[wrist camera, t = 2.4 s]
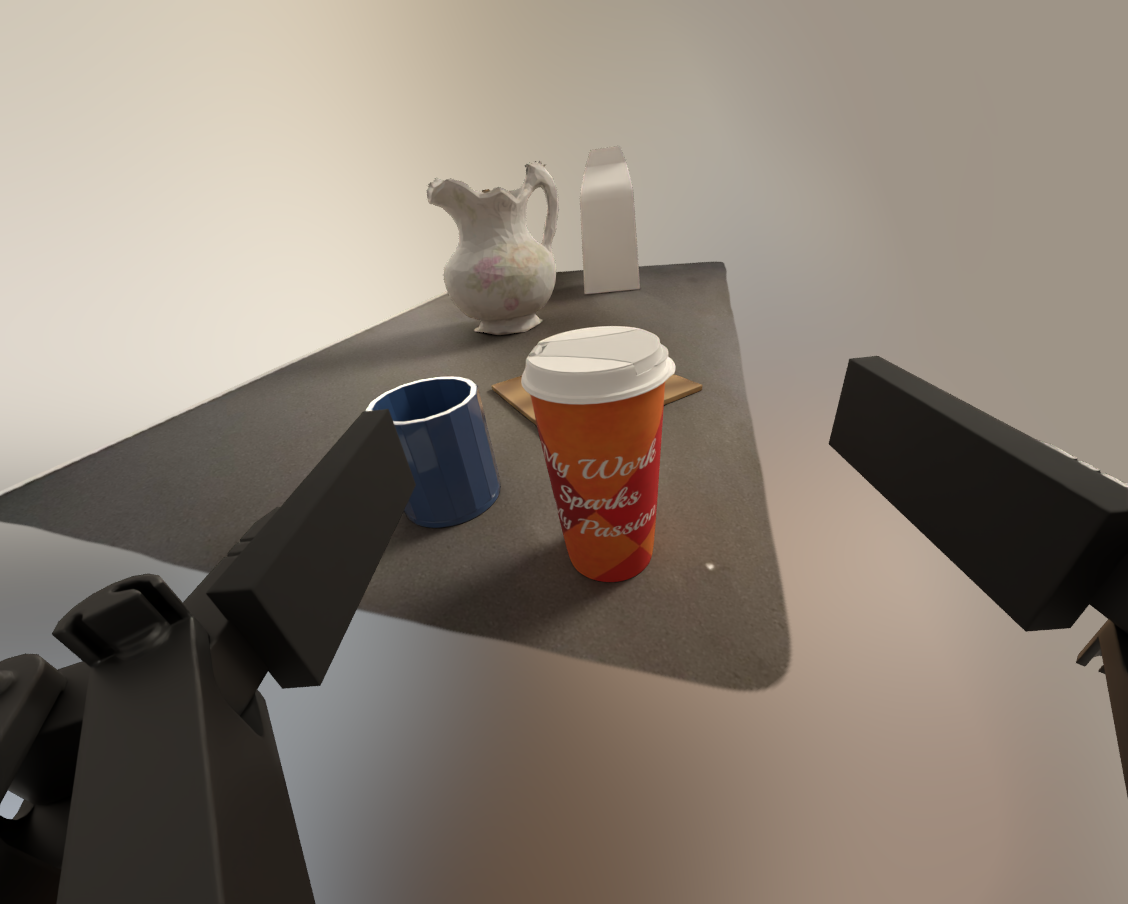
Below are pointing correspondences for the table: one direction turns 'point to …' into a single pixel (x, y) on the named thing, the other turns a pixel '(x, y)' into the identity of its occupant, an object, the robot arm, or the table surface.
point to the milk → (608, 224)
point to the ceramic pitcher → (499, 252)
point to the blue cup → (444, 449)
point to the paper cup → (602, 441)
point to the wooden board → (523, 403)
